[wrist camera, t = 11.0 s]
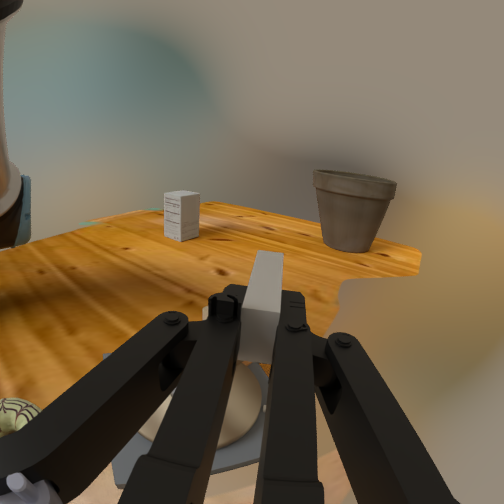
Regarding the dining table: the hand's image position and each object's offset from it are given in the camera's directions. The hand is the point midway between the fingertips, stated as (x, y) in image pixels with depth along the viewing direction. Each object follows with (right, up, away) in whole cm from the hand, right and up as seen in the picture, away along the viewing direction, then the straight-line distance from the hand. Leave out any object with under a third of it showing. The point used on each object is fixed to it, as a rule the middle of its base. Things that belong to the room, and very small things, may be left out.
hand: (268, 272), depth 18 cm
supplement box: (-21, +5, +66) cm, 70 cm away
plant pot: (+27, +3, +71) cm, 76 cm away
